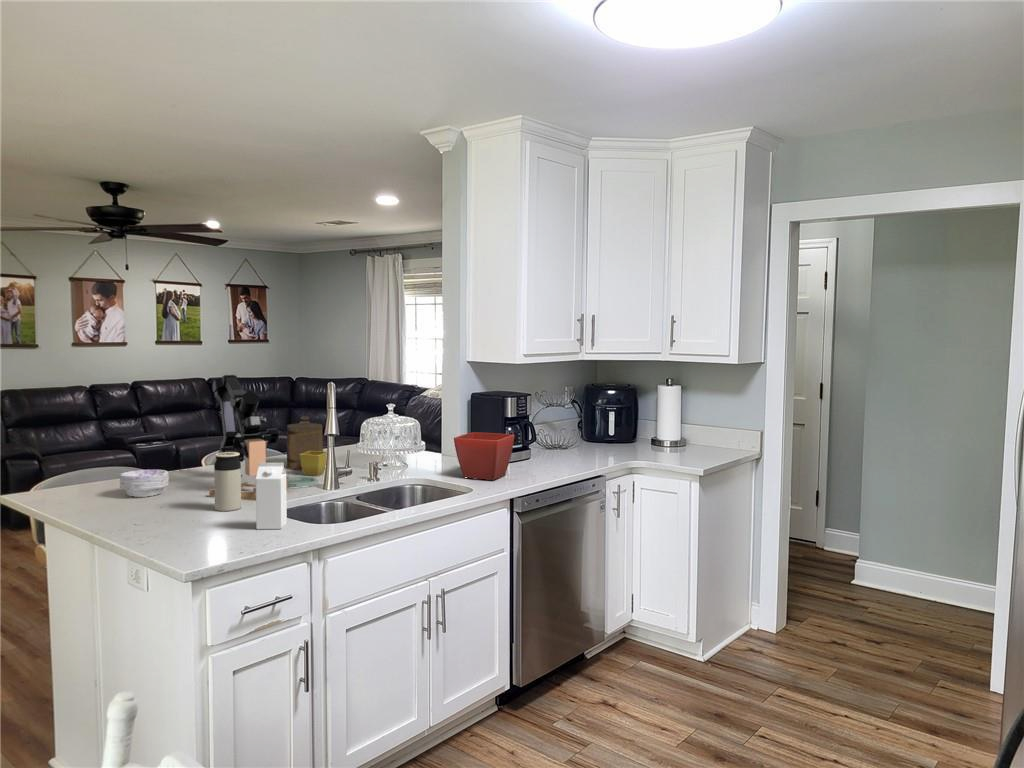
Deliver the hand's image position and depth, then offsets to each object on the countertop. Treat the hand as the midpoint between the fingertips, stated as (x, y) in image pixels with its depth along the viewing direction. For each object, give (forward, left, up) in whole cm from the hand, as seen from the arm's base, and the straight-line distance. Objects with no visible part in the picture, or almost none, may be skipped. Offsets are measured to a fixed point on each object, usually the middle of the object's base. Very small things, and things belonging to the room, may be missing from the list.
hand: (256, 456), depth 259 cm
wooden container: (-10, +52, -14) cm, 55 cm away
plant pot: (+69, +53, -14) cm, 88 cm away
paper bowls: (-36, -12, -14) cm, 41 cm away
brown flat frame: (-4, +2, -13) cm, 14 cm away
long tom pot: (-1, +1, -7) cm, 7 cm away
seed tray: (-8, -3, -13) cm, 16 cm away
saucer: (+6, +19, -13) cm, 24 cm away
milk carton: (+29, -37, -14) cm, 49 cm away
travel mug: (+4, -22, -14) cm, 26 cm away
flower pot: (+2, +38, -14) cm, 41 cm away
